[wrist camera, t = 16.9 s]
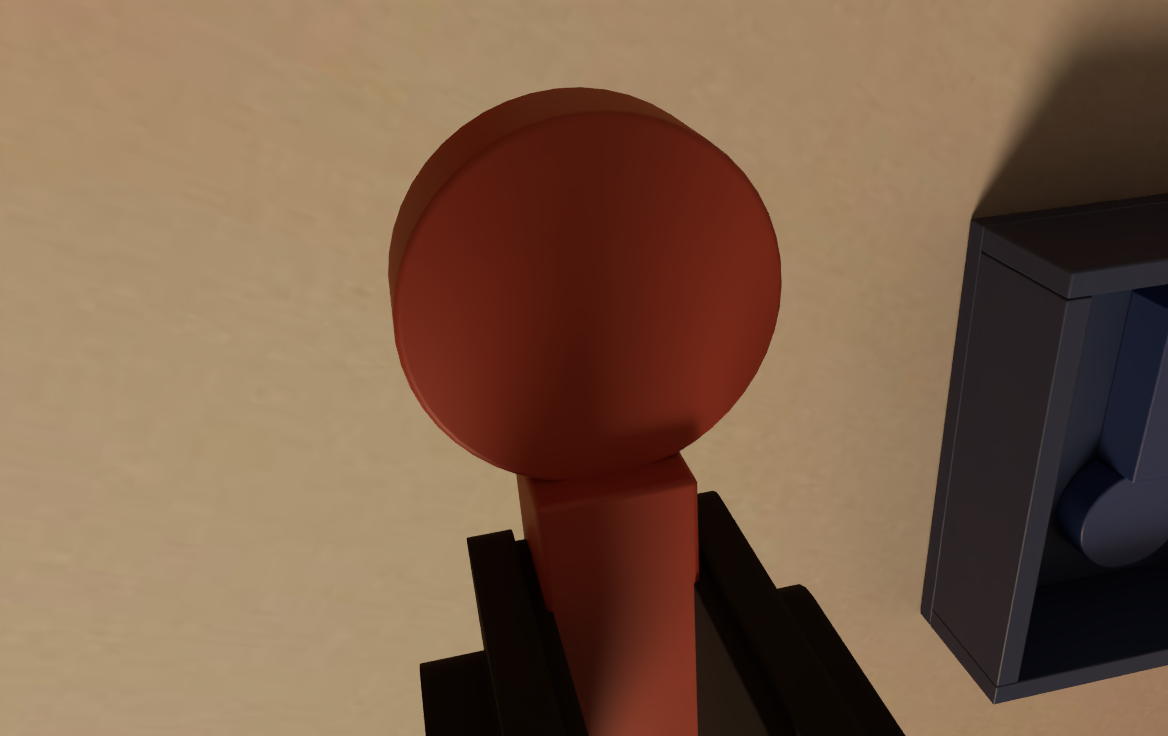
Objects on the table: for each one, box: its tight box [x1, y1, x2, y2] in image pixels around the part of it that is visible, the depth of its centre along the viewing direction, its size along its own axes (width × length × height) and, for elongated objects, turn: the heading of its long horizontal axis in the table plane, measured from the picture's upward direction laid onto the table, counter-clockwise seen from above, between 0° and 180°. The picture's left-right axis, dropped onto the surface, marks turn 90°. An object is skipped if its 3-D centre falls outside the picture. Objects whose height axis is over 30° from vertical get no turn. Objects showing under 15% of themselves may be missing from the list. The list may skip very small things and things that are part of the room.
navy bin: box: [921, 194, 1168, 704], centre depth 28 cm, size 13×11×4 cm
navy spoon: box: [1057, 285, 1168, 568], centre depth 28 cm, size 9×4×2 cm, turn 3°
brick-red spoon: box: [388, 87, 781, 736], centre depth 10 cm, size 9×4×2 cm, turn 4°
